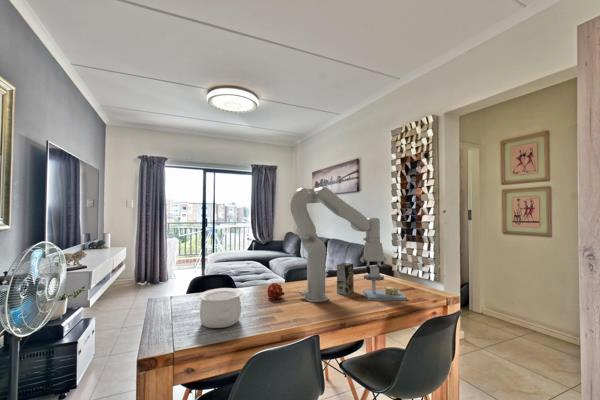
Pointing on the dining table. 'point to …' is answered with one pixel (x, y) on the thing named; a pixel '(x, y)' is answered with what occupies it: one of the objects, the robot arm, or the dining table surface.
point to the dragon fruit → (275, 291)
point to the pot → (220, 307)
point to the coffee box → (345, 278)
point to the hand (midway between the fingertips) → (373, 273)
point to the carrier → (384, 293)
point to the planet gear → (374, 274)
